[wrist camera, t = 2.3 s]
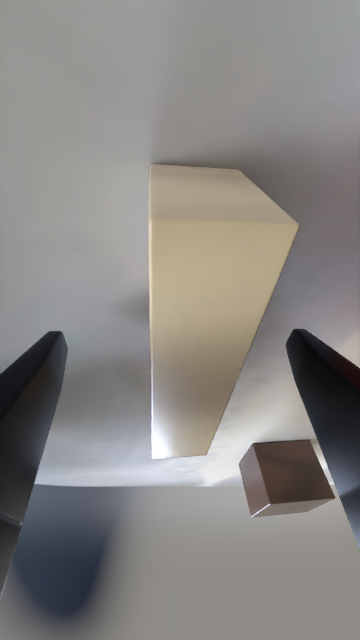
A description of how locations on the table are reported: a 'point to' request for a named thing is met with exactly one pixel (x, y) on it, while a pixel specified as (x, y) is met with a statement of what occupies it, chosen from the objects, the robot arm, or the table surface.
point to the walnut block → (283, 478)
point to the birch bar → (206, 294)
